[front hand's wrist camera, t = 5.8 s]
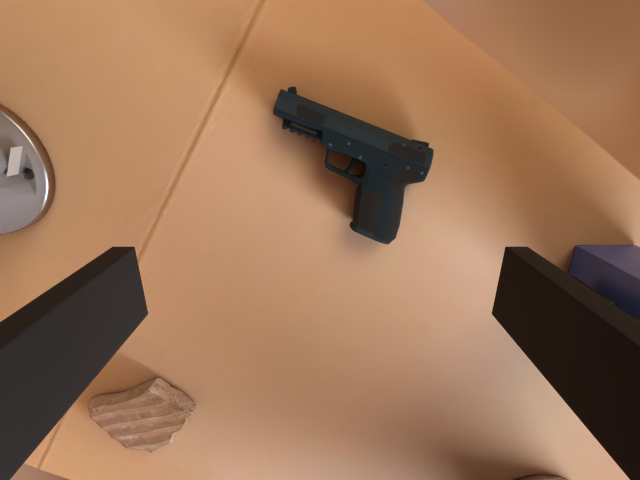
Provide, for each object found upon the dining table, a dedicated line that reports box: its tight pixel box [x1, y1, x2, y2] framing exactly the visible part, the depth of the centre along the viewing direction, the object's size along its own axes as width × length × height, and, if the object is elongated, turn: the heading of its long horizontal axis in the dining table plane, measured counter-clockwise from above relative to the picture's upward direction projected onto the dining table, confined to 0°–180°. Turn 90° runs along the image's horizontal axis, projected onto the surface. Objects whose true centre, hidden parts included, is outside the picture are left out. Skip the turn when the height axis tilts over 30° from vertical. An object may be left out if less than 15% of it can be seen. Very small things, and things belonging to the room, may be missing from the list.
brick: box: [568, 245, 640, 319], centre depth 40 cm, size 8×8×11 cm
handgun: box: [273, 87, 433, 244], centre depth 38 cm, size 3×18×12 cm
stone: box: [87, 378, 196, 453], centre depth 51 cm, size 13×12×3 cm
